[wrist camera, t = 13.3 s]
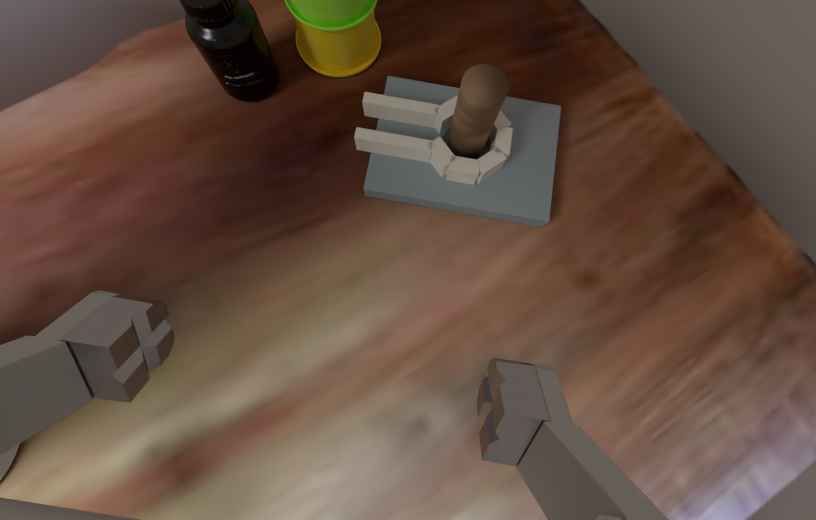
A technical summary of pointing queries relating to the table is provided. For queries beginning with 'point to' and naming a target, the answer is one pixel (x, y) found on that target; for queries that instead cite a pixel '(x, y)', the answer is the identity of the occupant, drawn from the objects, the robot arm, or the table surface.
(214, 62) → the supplement bottle
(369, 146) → the keyhole board
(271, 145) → the table surface
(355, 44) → the stacking cups
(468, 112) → the walnut dowel
